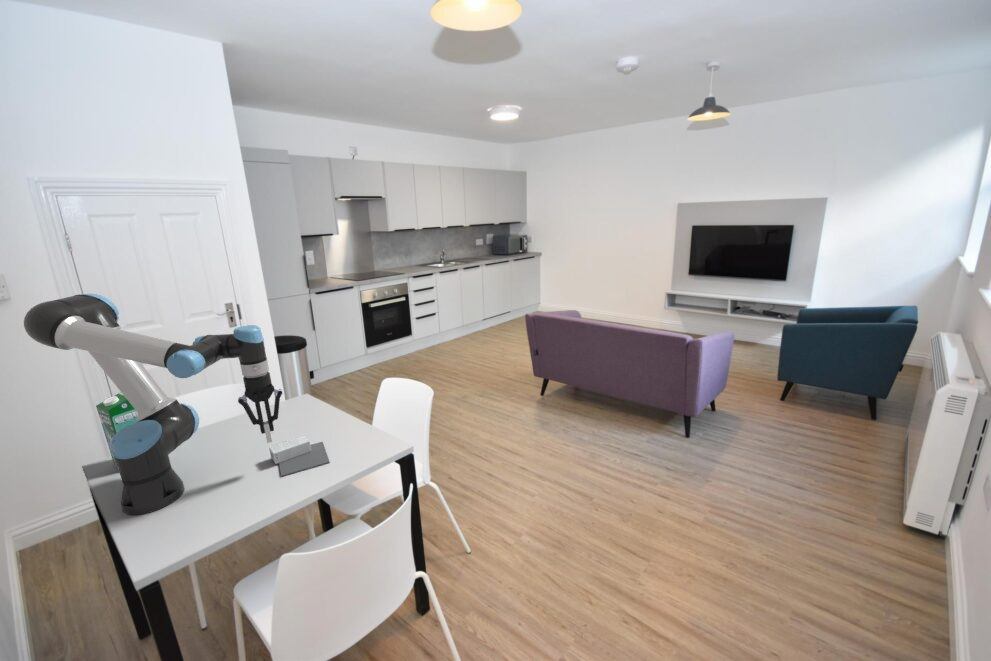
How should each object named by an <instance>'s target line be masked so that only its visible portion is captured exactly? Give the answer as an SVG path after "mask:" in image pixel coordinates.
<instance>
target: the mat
mask: <svg viewBox="0 0 991 661" xmlns="http://www.w3.org/2000/svg"><path fill="white" fill-rule="evenodd" d="M310 447H311V452H308V453H305V454H303V455H300V456H297V457H294V458H291V459H289V460H286V461H283V462H280V463H278V464H279V470H280V477H281V478H284V477H286V476H290V475H294V474H297V473H300V472H303V471H308V470H310V469H315V468H317V467H321V466H323V465H328V464H330V463H331V462H330V459H329V456H328V454H327V451H326V447H325V445H324V442H323V441H320V442H315V443H313V444H311V443H310Z"/></svg>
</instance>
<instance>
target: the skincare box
mask: <svg viewBox="0 0 991 661" xmlns="http://www.w3.org/2000/svg"><path fill="white" fill-rule="evenodd" d="M310 445H311V442H310V440H309V439H308V438H307V437H306V436H305V435H302V436H299V437H296V438H293V439H290V440H287V441H284V442H281V443H278V444H275V445H272V446H269V447H268V448H269V453H270V458H271V459H272V460H273V462H274V464H275V465H277V464H279V463H280V462H283V461H286V460H289V459H291V458H294V457H297V456H300V455H303V454H305V453H308V452H311V447H310Z"/></svg>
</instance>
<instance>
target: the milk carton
mask: <svg viewBox="0 0 991 661" xmlns="http://www.w3.org/2000/svg"><path fill="white" fill-rule="evenodd" d="M95 407H96V410H97V415H98V418H99V420H100V424H101V427H102V430H103V433H104V436H105V438H106V439H105V440H106V442H107V446H108V449H109V453H110V456H111V459H112V463H113V465H115V466H116V467H118V466H117V463H116V460H115V457H114V455H113V452H112V445H111V441H112V438H113V437H114V435H115V434H116V433H117V432H118V431H120V430H121V429H123V428H125V427H126V426H129V425H133V424H134V423H137V421H136V420H137V417H138V412H137V411H136V410H135V409H134V407H133V406H132V405H131V404H130V402H129V401H128V400H127V399H126V398H125V396H124V395H123V394H122V393H121V391H119V392H118V393H117V394H115V395H113V396H111V397H108V398H106V399H104V401H102V402H100V403H98V404H97V405H95Z"/></svg>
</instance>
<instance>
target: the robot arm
mask: <svg viewBox="0 0 991 661" xmlns="http://www.w3.org/2000/svg"><path fill="white" fill-rule="evenodd" d="M119 320H120V319H119V309H118V308H117V306H116V305H115V303H113V302H112V300H110V299H109V298H108V297H105V296H103V295H101V294H97V293H85V294H84V293H79V294H75V295H71V296H67V297H63V298H58V299H54V300H49V301H44V302H40V303H38V304H36V305H34V306H33V307H32V308H30V309H28V311H27V312H26V314H25V316H24V318H23V328H24V330H25V332H26V333H27V335H28V336H29V337H30V338H31V339H32V340H34V341H35V342H37V343H39V344H41V345H44V346H47V347H50V348H54V349H59V350H64V351H69V350H73V349H77V350H82V351H87V352H88V353H89V354H90V355H91V357H92V359H94V360H95V362H96V363H97V364H98V365H99V367H100V368H101V369H102V370H103V371H104V372H105V374H106V375H107V377H108V378H109V379H110V380H111V381H112V383H113V384H114V385H115V386H116V388H117V389H118V391H119V392H121V393H122V394H123V395H124V396H125V398H126V399H127V400H128V401H129V402H130V404H131V405H132V406H133V407H134V409H135V410H136V411H137V412H138V417H137V420H136V421H137V423H134V424H133V425H129V426H126V427H125V428H123V429H121V430H120V431H118V432H117V433H116V434H115V435H114V437H113V438H112V441H111V445H112V452H113V455H114V457H115V460H116V463H117V466H116V467H117V469H118V473H119V475H120V479H121V481H122V492H121V500H120V506H121V508H122V509H121V510H122V511H123V513H124V514H126V515H130V516H137V515H138V516H139V515H143V514H149V513H151V512H155V511H158V510H160V509H162V508H165V507H167V506H169V505H171V504H172V503H174V502H175V501H176V500H178V499H179V498H181V496H182V495H183V494H184V493H185V485H184V482H183V480H182V478H181V477H180V476H179V475H178V474H177V473H176V471H175V470H174V468H173V467H172V464H171V461H170V456H169V455H170V454H171V453H172V452H173V451H175V450H176V449H177V448H178V447H180V446H181V445H182V444H184V442H186V441H189V439H190V438H191V437H192V436H193V435H194V434H195V433H196V432H197V430H198V428H199V424H200V417H199V414H198V412H197V411H196V409H195V408H194V407H193V406H192V405H189V404H186V403H182V402H181V403H180V402H179V400H178V399H177V398H176V397H169V396H167V395H166V393H165V392H164V390H162V388H161V387H160V385H159V384H158V383H157V381H156V380H155V379H154V378H153V376H152V375H151V374H150V372H149V371H148V370H147V368H146V367H145V366H144V365H143V364H146V365H150V366H156V367H159V368H164V369H167V371H168V372H169V373H170V374H171V375H173V376H174V377H176V378H179V379H188V378H190V377H193V376H196V375H197V374H200V373H201V372H202V371H203V370H206V369H207V368H208V367H210V366H212V365H214V364H215V363H217V362H219V361H220V360H223V359H224V360H225V359H236V358H238V361H239V366H240V369H241V374H242V376H243V377H242V379H243V383H244V388H245V389H244V394H243V395H242V396H239V397H238V399H237V402H238V403H239V405H241V406H242V407H243V409H244V410H245V413H246V414H247V416H248V418H249V420H250V421H251V423H252V425H254V426H255V425H258V426H259V430H260V433H261V434H262V435H263V434H265V439H266V443H267V444H268V443H272V442H273V438H272V432H274V431H275V428H274V427H275V426H274V421H276V420H278V419H279V410H280V400H281V399H280V398H281V397H282V395H283V389H281V388H276V387H275V386H274V385H273V383H272V378H271V373H270V372H269V371H270V367H269V362H268V358H267V354H266V353H267V352H266V347H265V343H264V342H265V340H264V337H263V332H262V329H261V327H260V326H259V325H254V324H252V325H251V324H250V325H241V326H238V327H236V328H234V329H233V330H232V331H233V333H226V334H224V333H223V334H206V335H200V336H197V337H196V338H195V339H194V341H193V342H192V344H191V345H189V344H185V343H184V344H183V343H178V342H175V341H171V340H166V339H162V338H159V337H154V336H153V337H152V336H149V335H145V334H140V333H135V332H132V331H127V330H123V329H121V328H122V327H121V325H119V322H118V321H119ZM272 395H274V406H273V415H272V412H271V406H270V402H269V400H270V398H271V397H272ZM248 399H249V400H250V401H252V402H253V403H254V404H255V411H256V414H257V415H256V416H257V418H256V416H255V414H254V412H253V410H252V408H251V406H250V405H249V403H248ZM261 402H263V403H264V408H265V413H266V419H267V420H265V421H264V419H263V413H262V407H261Z"/></svg>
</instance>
